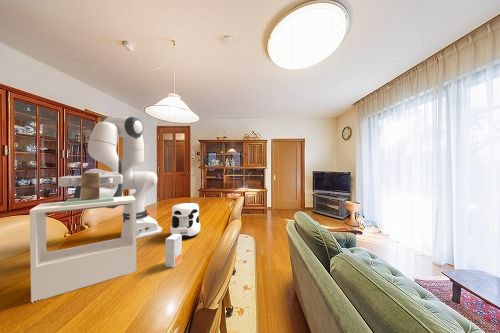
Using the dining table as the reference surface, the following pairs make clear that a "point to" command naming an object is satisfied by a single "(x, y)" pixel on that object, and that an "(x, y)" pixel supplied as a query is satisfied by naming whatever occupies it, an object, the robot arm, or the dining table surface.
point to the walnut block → (90, 186)
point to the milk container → (185, 220)
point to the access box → (78, 251)
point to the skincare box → (173, 250)
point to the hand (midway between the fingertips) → (92, 181)
